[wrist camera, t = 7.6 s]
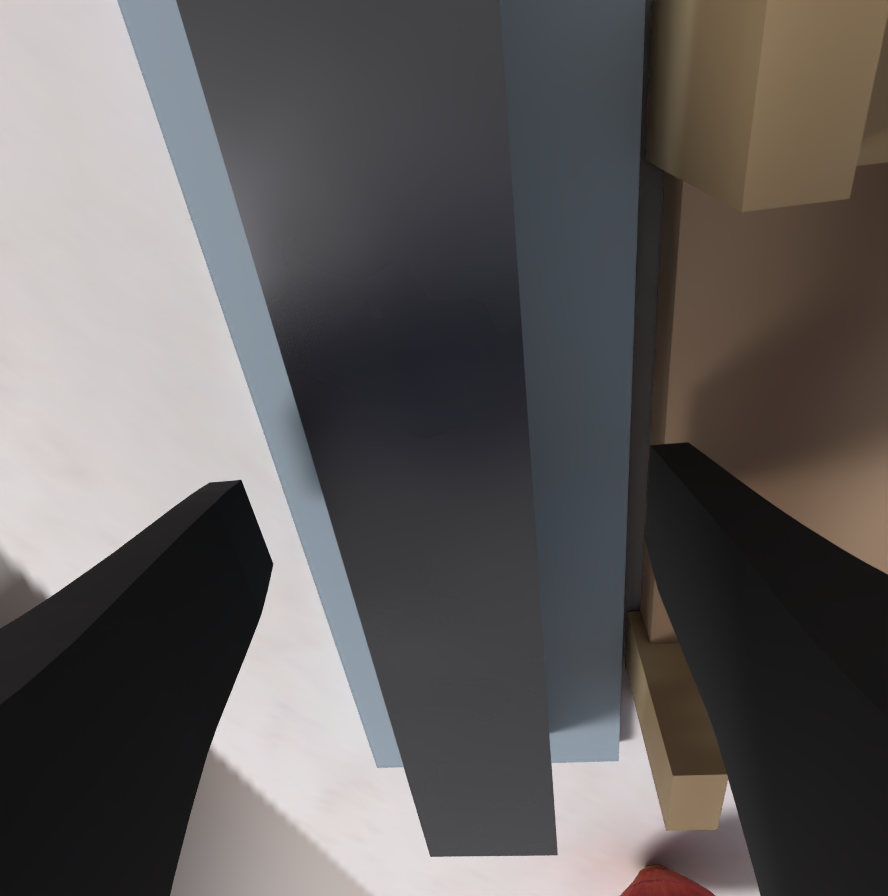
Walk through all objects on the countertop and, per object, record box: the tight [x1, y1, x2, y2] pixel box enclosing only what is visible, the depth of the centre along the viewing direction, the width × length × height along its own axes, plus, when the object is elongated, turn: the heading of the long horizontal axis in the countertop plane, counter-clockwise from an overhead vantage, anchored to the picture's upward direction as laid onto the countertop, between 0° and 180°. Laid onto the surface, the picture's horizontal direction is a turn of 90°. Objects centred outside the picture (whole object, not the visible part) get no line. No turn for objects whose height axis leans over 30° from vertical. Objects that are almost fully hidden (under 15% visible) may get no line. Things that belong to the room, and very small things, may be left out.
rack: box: [625, 0, 888, 831], centre depth 9 cm, size 6×17×6 cm, turn 8°
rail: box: [176, 0, 558, 857], centre depth 11 cm, size 3×18×3 cm, turn 8°
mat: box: [117, 0, 645, 768], centre depth 12 cm, size 7×21×1 cm, turn 7°
